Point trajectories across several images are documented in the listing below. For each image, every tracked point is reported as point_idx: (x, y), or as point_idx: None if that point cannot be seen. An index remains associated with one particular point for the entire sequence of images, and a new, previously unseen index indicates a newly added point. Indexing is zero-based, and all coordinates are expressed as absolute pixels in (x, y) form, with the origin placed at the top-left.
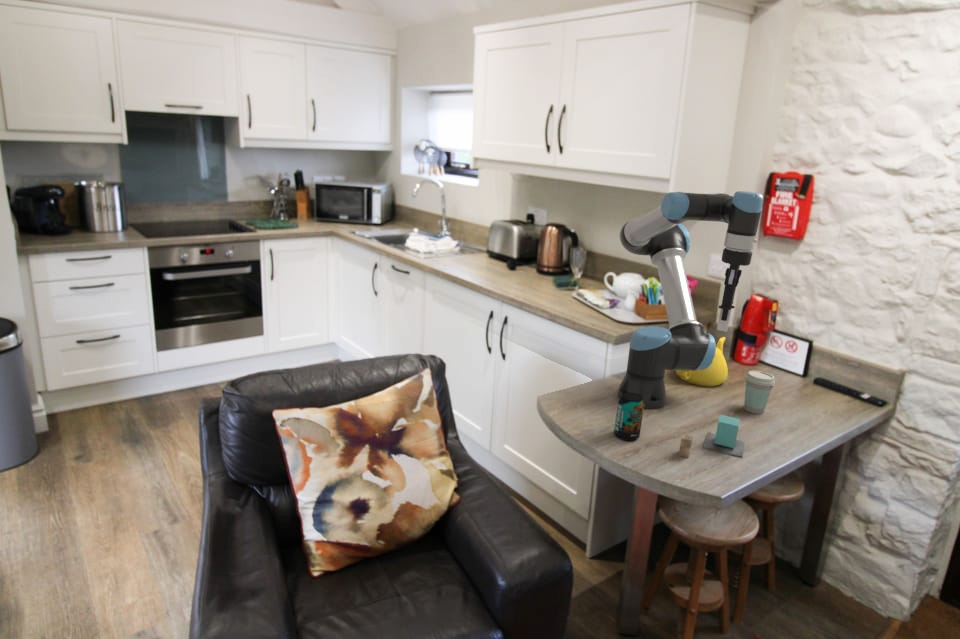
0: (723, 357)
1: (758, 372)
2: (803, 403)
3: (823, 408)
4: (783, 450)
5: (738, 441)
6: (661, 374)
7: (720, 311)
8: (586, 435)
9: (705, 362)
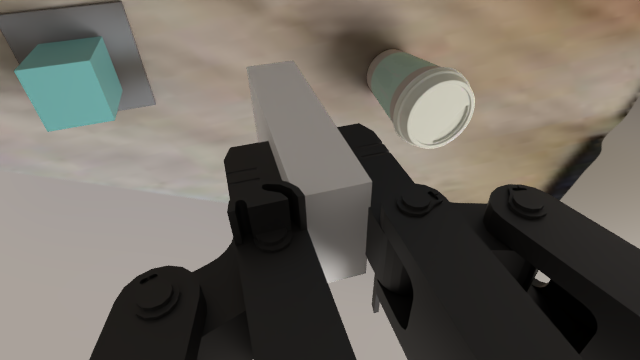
0: None
1: (463, 103)
2: (477, 146)
3: (466, 177)
4: (192, 175)
5: (140, 91)
6: None
7: (282, 169)
8: None
9: None
